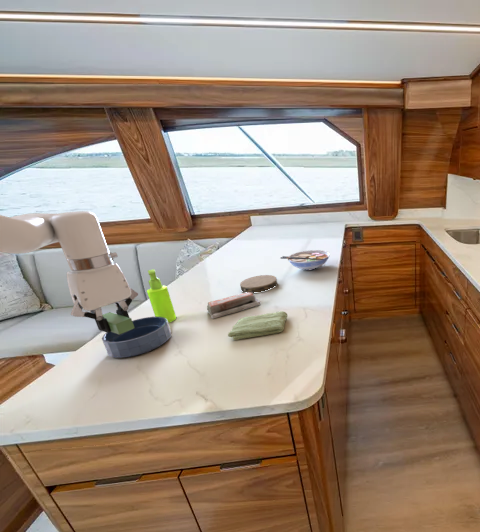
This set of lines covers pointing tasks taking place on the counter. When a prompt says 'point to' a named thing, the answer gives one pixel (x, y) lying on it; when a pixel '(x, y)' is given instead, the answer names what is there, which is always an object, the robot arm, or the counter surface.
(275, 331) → the washcloth
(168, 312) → the soap dispenser
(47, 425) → the counter surface
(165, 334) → the bowl
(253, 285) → the brown round disc
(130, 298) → the robot arm
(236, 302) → the packaged product
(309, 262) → the ramen bowl
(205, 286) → the counter surface
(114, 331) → the green bar
